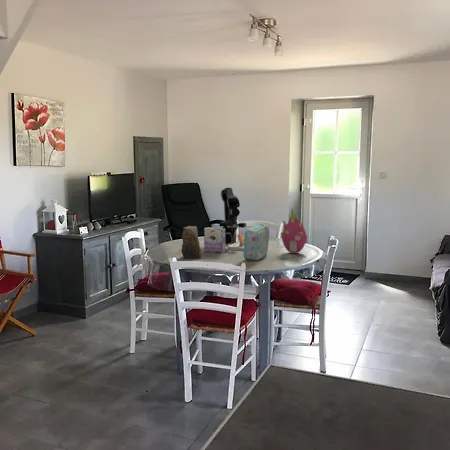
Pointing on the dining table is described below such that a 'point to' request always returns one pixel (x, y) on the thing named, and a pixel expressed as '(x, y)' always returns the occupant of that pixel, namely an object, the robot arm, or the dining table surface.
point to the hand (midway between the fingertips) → (232, 236)
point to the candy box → (214, 240)
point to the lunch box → (256, 242)
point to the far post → (234, 239)
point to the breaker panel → (236, 246)
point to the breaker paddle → (241, 238)
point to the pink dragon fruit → (294, 234)
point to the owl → (190, 243)
